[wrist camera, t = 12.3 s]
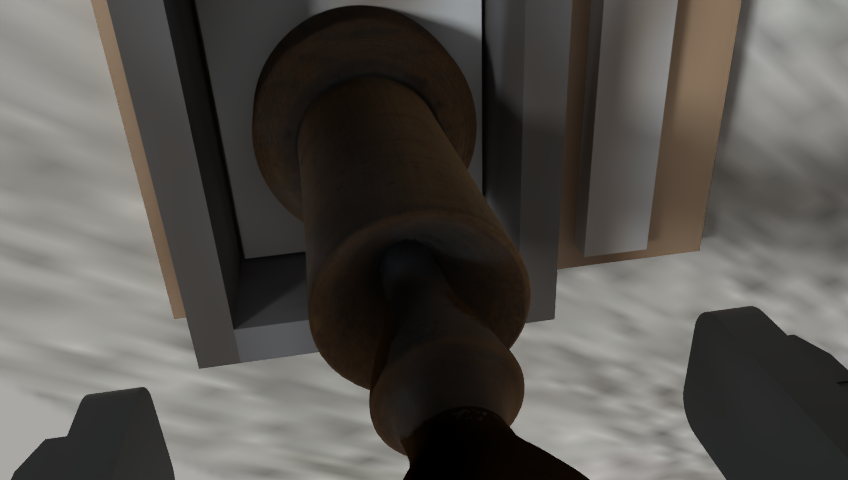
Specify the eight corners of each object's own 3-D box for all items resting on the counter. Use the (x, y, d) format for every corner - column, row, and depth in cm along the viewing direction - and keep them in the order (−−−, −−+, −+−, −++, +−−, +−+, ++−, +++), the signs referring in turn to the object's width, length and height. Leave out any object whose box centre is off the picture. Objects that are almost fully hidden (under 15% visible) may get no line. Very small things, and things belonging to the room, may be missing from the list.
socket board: (740, -159, 22) (881, -168, 17) (680, 233, 29) (768, 314, 23) (73, -127, 19) (-7, -125, 14) (179, 296, 26) (152, 403, 21)
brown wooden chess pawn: (480, 178, 23) (863, 798, 8) (295, 233, 23) (310, 983, 8) (436, -23, 20) (946, 351, 5) (220, 39, 20) (-26, 657, 4)
